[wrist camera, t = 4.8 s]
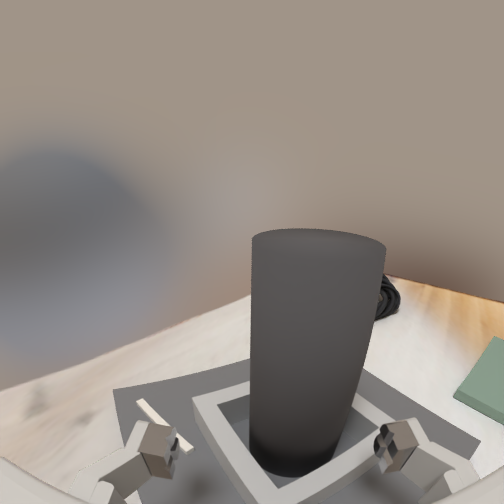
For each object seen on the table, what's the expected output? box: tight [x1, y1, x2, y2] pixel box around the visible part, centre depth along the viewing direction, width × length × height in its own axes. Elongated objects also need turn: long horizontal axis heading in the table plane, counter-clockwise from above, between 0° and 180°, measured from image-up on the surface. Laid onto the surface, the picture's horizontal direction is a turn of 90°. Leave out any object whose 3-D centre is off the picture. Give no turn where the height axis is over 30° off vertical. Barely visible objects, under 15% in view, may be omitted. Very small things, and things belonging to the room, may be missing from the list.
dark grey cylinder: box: [249, 229, 386, 478], centre depth 13 cm, size 6×6×13 cm
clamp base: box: [113, 359, 481, 504], centre depth 15 cm, size 20×20×4 cm
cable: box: [375, 274, 401, 319], centre depth 39 cm, size 17×14×4 cm
